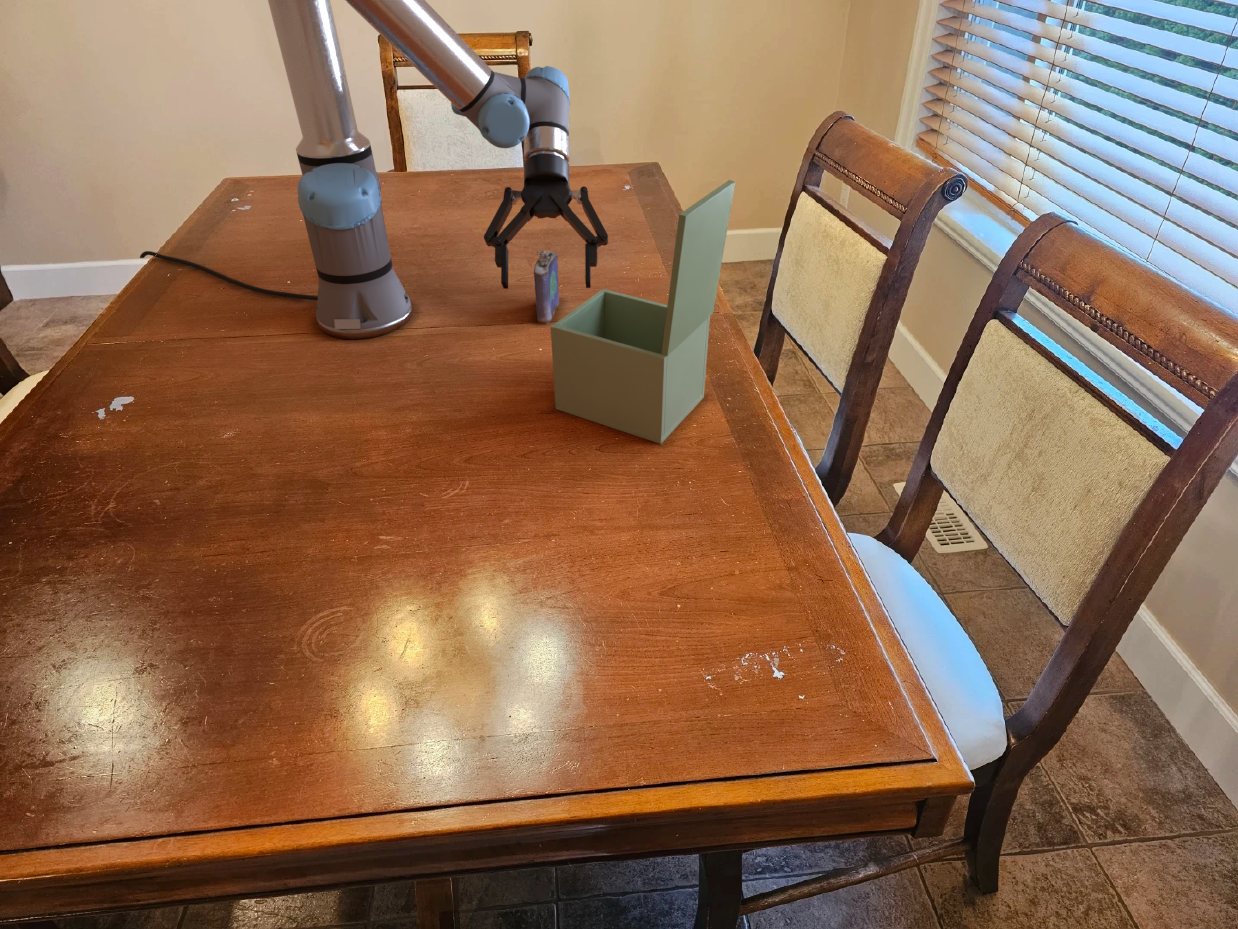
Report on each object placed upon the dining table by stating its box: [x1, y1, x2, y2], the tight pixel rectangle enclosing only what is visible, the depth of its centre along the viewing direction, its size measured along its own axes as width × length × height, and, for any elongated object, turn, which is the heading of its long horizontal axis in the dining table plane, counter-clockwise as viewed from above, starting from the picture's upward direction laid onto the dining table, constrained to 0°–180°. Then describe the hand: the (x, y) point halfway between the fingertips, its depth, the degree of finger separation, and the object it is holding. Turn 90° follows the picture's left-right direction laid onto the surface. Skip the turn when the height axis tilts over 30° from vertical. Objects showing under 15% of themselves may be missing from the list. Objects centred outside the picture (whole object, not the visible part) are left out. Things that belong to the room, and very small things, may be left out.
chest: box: [550, 288, 711, 445], centre depth 108 cm, size 17×13×13 cm
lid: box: [662, 179, 736, 356], centre depth 95 cm, size 18×13×1 cm
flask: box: [533, 249, 560, 325], centre depth 131 cm, size 9×3×11 cm, turn 172°
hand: (546, 285), depth 129 cm, fingers open, 13 cm apart
